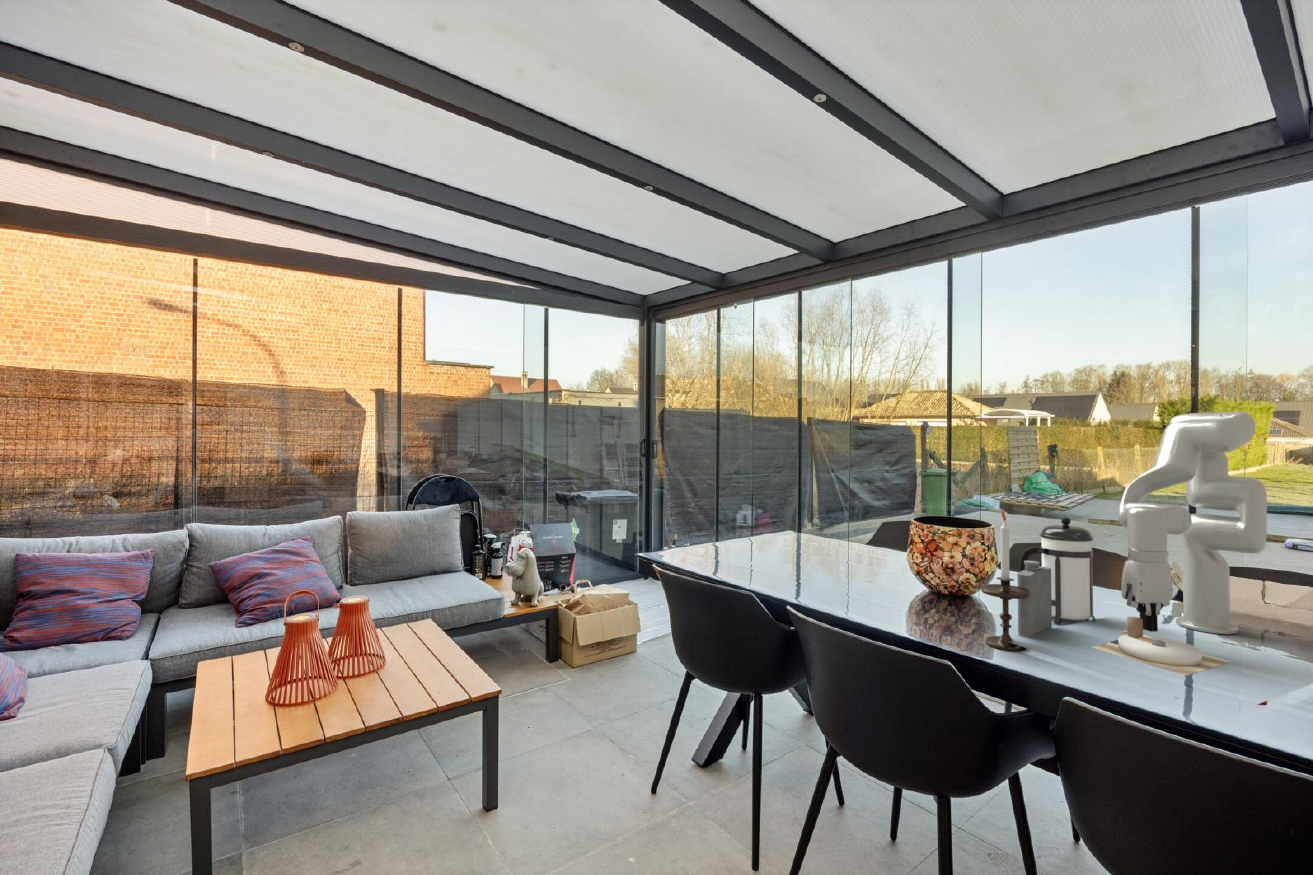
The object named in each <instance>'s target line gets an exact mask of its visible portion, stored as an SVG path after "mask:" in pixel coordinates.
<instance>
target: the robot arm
mask: <svg viewBox="0 0 1313 875" xmlns="http://www.w3.org/2000/svg"><path fill="white" fill-rule="evenodd" d="M1255 432H1256V422H1255V419H1254V418H1253V417H1252V416H1251V415H1250V414H1249V413H1247V412H1245V411H1225V412H1223V411H1222V412H1221V411H1220V412H1189V413H1183V414H1178V415H1175V416H1173V417H1171V418H1170V420H1169V423H1168V425H1166V427H1165V428H1164V430H1163V433H1162V436H1161V440H1160V443H1159V446H1158V451H1157V454H1156V457H1155V459H1154V463H1153V466H1152V467H1151V468H1150V469H1148V470H1145V472H1143V473H1142V474H1140V475H1138V476H1137V477H1135V479H1134V480H1132V481H1131V482H1129V484H1128V485H1126V487H1125V489H1124V491H1123V494H1122V497H1121V500H1120V503H1119V507H1118V511H1117V518H1118V522H1119V524H1120V525H1121V527H1123V528H1125V529H1127V531H1126V532H1127V560H1125V561H1124V564H1123V568H1122V574H1121V575H1122V576H1121V588H1120V590H1121V597H1122V599H1125V600H1126V606H1128V607H1131V608H1132V609H1133V608H1134V609H1135V610H1136V612H1137V613H1139V618H1141V619H1143V631H1148V632H1151V633H1152V632H1158V628H1159V627H1158V616H1159V615H1161V610H1162V609H1163V608H1165V607H1169V606H1170V604H1171V601H1172V600H1173V596H1174V590H1173V589H1174V586H1173V578H1172V572H1171V567H1170V563H1169V562H1168V556H1169V551H1168V535H1173V536H1175V535H1176V536H1177V535H1178V537H1179V541H1180V546H1181V552H1182V553H1181V554H1182V555H1181V556H1182V596H1183V597H1182V599H1183V600H1182V606H1183V608H1182V609H1183V616H1179V617H1176V619H1175V621H1176V624H1177V625H1179V626H1182V627H1183V628H1186V629H1190V630H1194V631H1198V632H1204V633H1208V634H1209V633H1210V634H1211V633H1212V634H1216V635H1217V634H1219V635H1235V634H1238V633H1239V627H1238V626H1237V625H1235V624H1233V623H1231V618H1233V617H1234V613H1233V612H1232V611H1231V592H1230V591H1231V589H1230V587H1231V586H1230V579H1231V578H1230V572H1231V571H1230V566H1229V563H1228V562H1227V560H1226V558H1224V557H1223V555H1222V554H1221V553H1220V552H1219V551H1224V552H1233V553H1242V554H1258V553H1260V552H1262V551H1263V550H1264V549H1265V547H1266V543H1267V526H1268V525H1267V520H1268V519H1267V518H1268V496H1267V490H1266V487H1265V485H1264V483H1263V482H1262V481H1260V479H1257V478H1255V477H1250V476H1233V475H1232V476H1231V475H1229V458H1228V456H1227V455H1226V453H1229V452H1233V451H1236V450H1237V449H1239V448H1240V447H1242V446H1244V445H1246V444H1247V443H1249V442H1250V441H1252V439H1253V437H1254V436H1255ZM1184 483H1186V484H1185V486H1186V487H1185V493H1186V496H1185V497H1186V501H1187V503H1188V504H1189V505H1190V506H1191V507H1193V508H1197V509H1202V510H1209V511H1226V512H1237V513H1239V516H1232V515H1223V514H1210V513H1209V514H1207V513H1190V512H1189V510H1188V509H1186V508H1185V507H1183V506H1180V505H1177V504H1167V503H1156V502H1145V501H1144V502H1142V501H1143V499H1144V498H1146V497H1147V496H1148V495H1150V494H1152V493H1155V492H1156V491H1160V490H1163V489H1167V488H1171V487H1174V486H1178V485H1181V484H1184Z"/></svg>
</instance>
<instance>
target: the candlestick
mask: <svg viewBox="0 0 1313 875" xmlns="http://www.w3.org/2000/svg"><path fill="white" fill-rule="evenodd" d="M1000 512H1001V517H1002V521H1003V523H1002V526H1000V577H996V578H995V579H997V580H998V581H999V580H1000V583H987V584H984V585H981V586H980V590H981V591H980V592H982V594H985V595H987V596H988V595H989V596H990V597H995V598H999V599H1001V600H1002V612H1001V613H1000V614H999V618H1000V619H1001V621H1002V623H1000V624H999V626H1000V627H1002V634H1001V635H993V636H992V635H991V636H987V637H985V644H986V645H987V646H988V647H991V648H993V649H995V650H998V651H999V650H1000V651H1005V652H1013V653H1019V652H1020V653H1021V652H1026V651H1027V650H1028V647H1025V646H1023V645H1019V644H1016V643H1013V642H1014V639H1013V638H1012V637H1011V635H1010V628H1012V625H1011V624H1010V621H1011V620H1012V618H1013V615H1012V614H1010V613H1009V612H1010V611H1009V610H1010V606H1009V605H1010V604H1009V601H1011V600H1018V599H1026V598H1029V597H1030V591H1029V590H1027V589H1025V588H1021V587H1018V585H1017V586H1015V585H1012V584H1011V582H1014V581H1015V579H1014V578H1011V576H1010V526H1008V525H1007V518H1006V515H1005V512H1004V510H1003V509H1002V508H1001V509H1000Z"/></svg>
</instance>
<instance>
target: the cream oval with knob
mask: <svg viewBox="0 0 1313 875" xmlns="http://www.w3.org/2000/svg"><path fill="white" fill-rule="evenodd" d="M1126 620H1127V621H1126V626H1127V627H1126V628H1127V629H1126V630H1121V633H1122V634H1123V635H1120V636H1118V637H1117V640H1118V647H1119V649H1120V650H1122V651H1123V652H1125V653H1127V654H1130V655H1132V656H1135V657H1138V658H1142V659H1145V660H1149V661H1154V662H1159V663H1165V664H1173V665H1197V664H1200V663H1201V662H1202V654H1203V652H1202V650H1201V649H1199V648H1198V647H1196V646H1194V645H1192V644H1189V643H1186V642H1184V641H1183V642H1182V641H1180V640H1176V639H1172V638H1167V637H1162V636H1156V635H1147V634H1144V629H1143V619H1141V618H1140V617H1136V616H1127V617H1126Z"/></svg>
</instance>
